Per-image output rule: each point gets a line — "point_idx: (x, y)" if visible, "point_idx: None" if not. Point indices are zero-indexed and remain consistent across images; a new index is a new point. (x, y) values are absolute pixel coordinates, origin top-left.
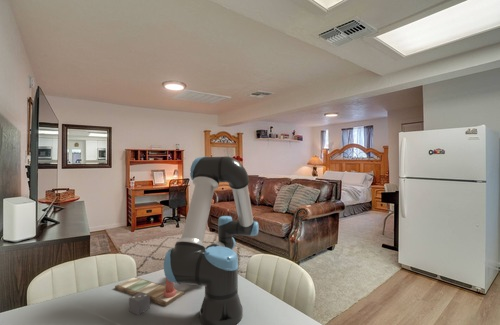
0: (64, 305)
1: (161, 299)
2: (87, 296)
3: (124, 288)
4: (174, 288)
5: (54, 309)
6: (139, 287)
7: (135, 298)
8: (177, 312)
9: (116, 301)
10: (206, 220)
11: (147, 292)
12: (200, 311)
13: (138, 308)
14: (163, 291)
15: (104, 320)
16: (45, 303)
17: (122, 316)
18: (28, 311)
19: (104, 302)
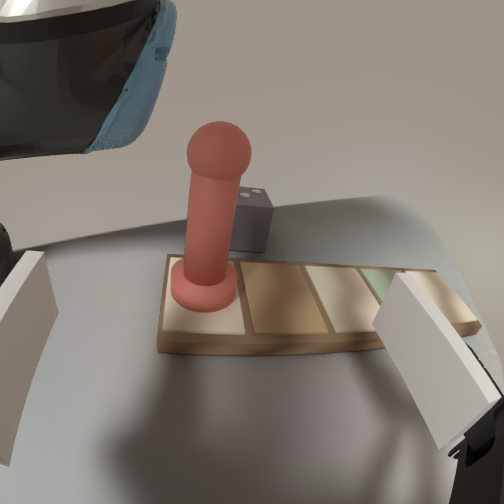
0: (397, 220)
1: None
2: (418, 244)
3: (403, 270)
4: (200, 294)
5: (390, 212)
6: (378, 286)
7: (244, 189)
8: (100, 258)
9: (347, 248)
10: None
11: (311, 274)
12: (6, 231)
13: None
14: (227, 262)
15: None
16: (422, 219)
17: None
18: (404, 206)
19: (362, 239)
